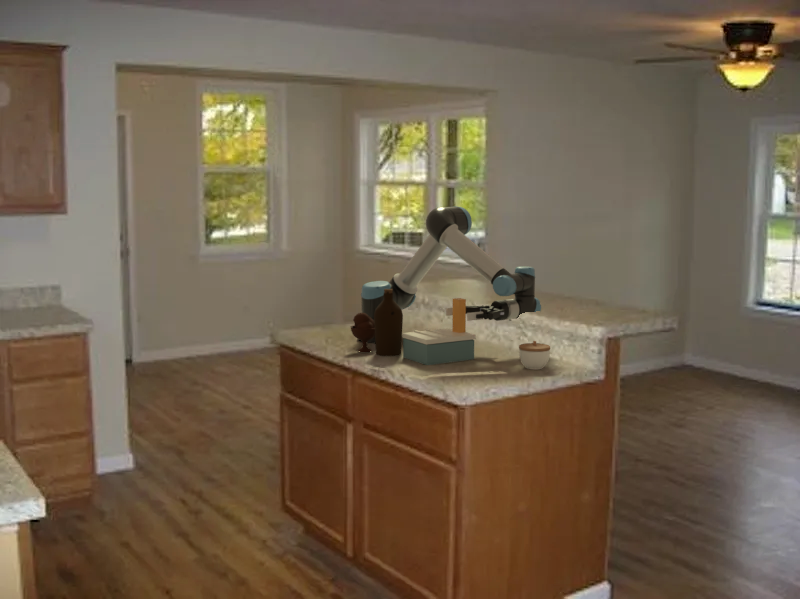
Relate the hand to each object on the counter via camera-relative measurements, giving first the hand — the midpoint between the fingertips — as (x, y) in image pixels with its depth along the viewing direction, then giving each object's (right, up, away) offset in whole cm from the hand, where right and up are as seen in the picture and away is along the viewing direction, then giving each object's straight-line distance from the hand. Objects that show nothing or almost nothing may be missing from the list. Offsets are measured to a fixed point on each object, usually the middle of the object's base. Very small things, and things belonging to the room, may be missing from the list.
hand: (456, 314), depth 324 cm
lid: (-7, -9, -2) cm, 11 cm away
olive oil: (-25, -16, +8) cm, 30 cm away
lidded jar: (+26, -18, -13) cm, 35 cm away
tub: (-7, -17, -1) cm, 18 cm away
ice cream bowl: (-34, -15, +17) cm, 41 cm away
